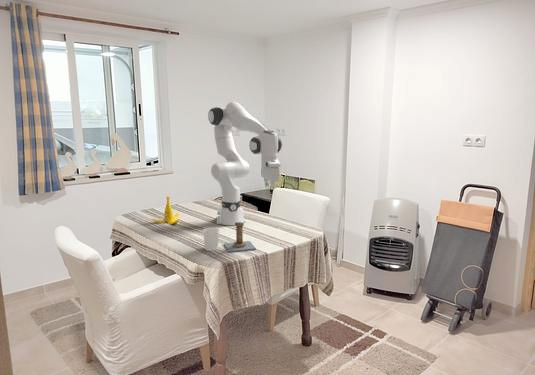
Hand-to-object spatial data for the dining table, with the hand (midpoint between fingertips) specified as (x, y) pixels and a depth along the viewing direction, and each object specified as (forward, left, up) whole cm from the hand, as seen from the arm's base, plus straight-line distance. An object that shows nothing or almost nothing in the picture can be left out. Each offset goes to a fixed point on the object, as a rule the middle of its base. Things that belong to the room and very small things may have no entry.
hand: (269, 187), depth 208 cm
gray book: (+6, -18, -29) cm, 35 cm away
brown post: (+6, -18, -28) cm, 34 cm away
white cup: (+4, -32, -29) cm, 44 cm away
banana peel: (-55, -48, -30) cm, 79 cm away
